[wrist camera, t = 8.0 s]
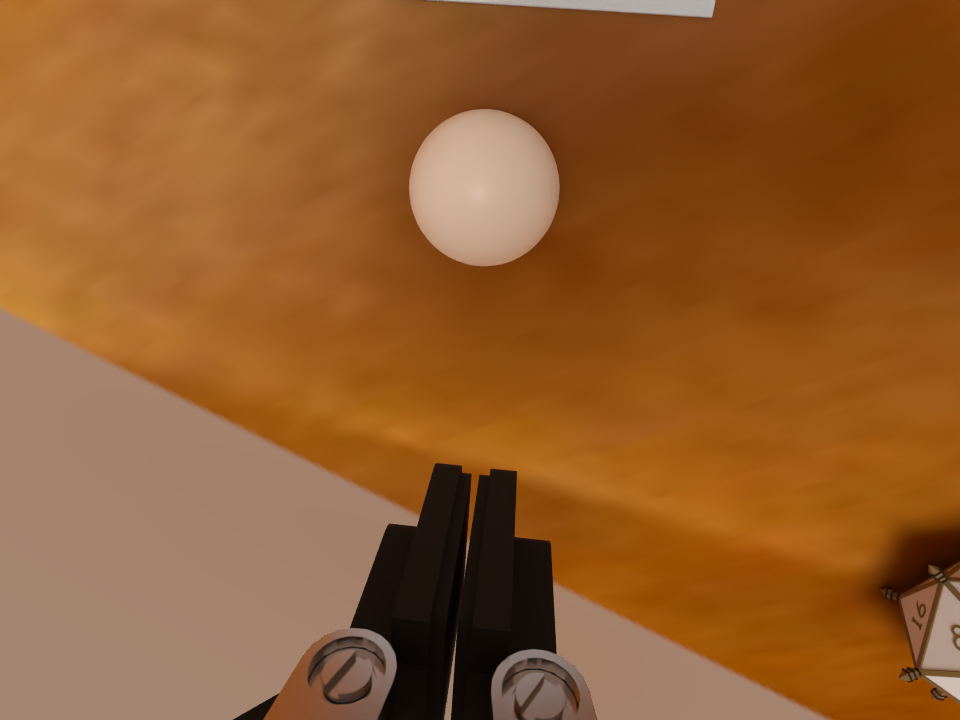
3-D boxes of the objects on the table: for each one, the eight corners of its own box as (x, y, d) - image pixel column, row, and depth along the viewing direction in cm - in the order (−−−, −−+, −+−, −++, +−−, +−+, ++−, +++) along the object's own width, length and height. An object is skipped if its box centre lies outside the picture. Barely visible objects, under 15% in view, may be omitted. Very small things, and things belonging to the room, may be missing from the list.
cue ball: (561, 293, 20) (556, 216, 24) (564, 143, 17) (557, 81, 21) (412, 298, 21) (431, 222, 25) (382, 153, 17) (409, 91, 21)
